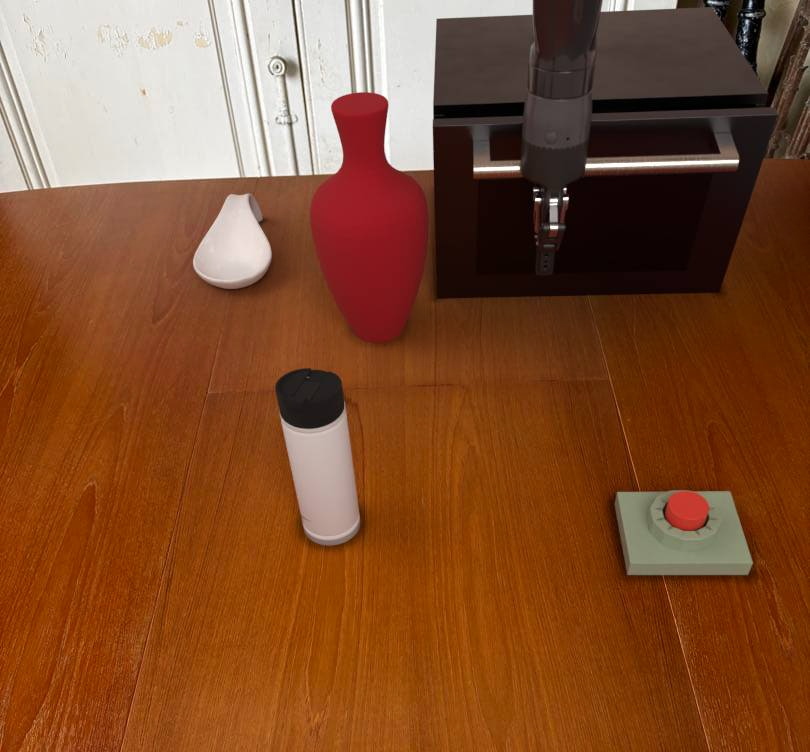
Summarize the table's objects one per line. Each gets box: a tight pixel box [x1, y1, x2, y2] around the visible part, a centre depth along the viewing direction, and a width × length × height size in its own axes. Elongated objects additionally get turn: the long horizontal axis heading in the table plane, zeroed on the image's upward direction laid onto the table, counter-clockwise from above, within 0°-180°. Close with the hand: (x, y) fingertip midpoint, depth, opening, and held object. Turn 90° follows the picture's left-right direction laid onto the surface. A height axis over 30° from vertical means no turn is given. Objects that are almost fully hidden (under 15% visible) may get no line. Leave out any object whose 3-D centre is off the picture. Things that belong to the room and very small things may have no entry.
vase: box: [309, 91, 430, 344], centre depth 102 cm, size 15×15×30 cm
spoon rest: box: [192, 192, 273, 290], centre depth 125 cm, size 24×12×7 cm, turn 2°
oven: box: [432, 6, 769, 120], centre depth 118 cm, size 32×40×26 cm
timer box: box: [614, 489, 754, 576], centre depth 84 cm, size 12×10×4 cm
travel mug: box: [274, 367, 361, 547], centre depth 82 cm, size 6×7×20 cm
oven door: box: [432, 106, 779, 300], centre depth 105 cm, size 7×40×26 cm, turn 88°
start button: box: [665, 490, 709, 531], centre depth 82 cm, size 4×4×2 cm
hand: (543, 272), depth 104 cm, fingers closed
